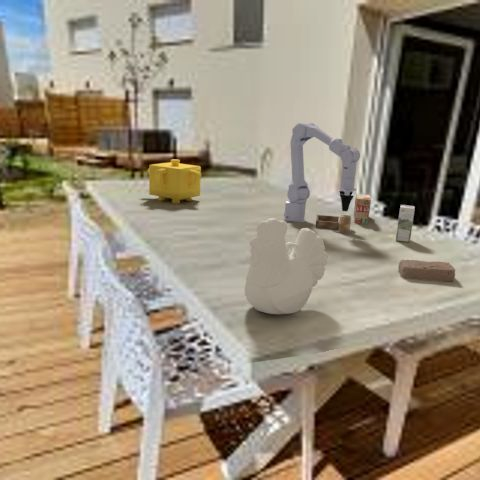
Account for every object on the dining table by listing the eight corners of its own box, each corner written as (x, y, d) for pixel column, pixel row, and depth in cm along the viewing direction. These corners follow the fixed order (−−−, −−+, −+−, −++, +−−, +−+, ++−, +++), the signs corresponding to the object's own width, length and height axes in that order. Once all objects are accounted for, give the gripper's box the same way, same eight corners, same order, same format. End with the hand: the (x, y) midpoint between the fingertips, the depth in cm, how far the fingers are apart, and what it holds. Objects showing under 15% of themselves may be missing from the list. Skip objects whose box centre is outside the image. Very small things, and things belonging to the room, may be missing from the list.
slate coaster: (331, 234, 215) (331, 232, 215) (331, 228, 225) (331, 227, 225) (356, 236, 214) (356, 235, 214) (354, 230, 223) (354, 229, 223)
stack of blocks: (353, 214, 256) (355, 190, 252) (366, 215, 255) (368, 191, 251) (354, 224, 235) (357, 198, 232) (368, 225, 234) (371, 199, 231)
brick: (401, 278, 165) (403, 265, 164) (397, 270, 173) (399, 257, 172) (454, 283, 163) (457, 269, 162) (447, 275, 171) (450, 261, 170)
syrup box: (410, 239, 213) (415, 205, 209) (409, 243, 207) (414, 208, 204) (396, 237, 215) (400, 204, 211) (395, 241, 209) (400, 206, 205)
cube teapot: (217, 200, 274) (219, 160, 268) (182, 208, 250) (183, 165, 244) (167, 191, 292) (167, 154, 286) (130, 198, 267) (129, 157, 262)
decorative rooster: (255, 326, 125) (261, 227, 118) (233, 301, 139) (237, 212, 132) (343, 315, 134) (354, 223, 127) (314, 293, 148) (322, 209, 141)
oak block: (338, 231, 217) (340, 217, 215) (338, 229, 222) (339, 214, 220) (349, 232, 217) (351, 217, 215) (349, 230, 221) (350, 215, 219)
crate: (315, 228, 224) (316, 220, 223) (316, 222, 236) (316, 214, 235) (338, 230, 222) (339, 222, 221) (338, 223, 234) (338, 216, 233)
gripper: (358, 180, 207) (354, 213, 211) (356, 175, 221) (353, 206, 224) (341, 179, 208) (337, 212, 212) (340, 174, 222) (337, 205, 225)
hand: (344, 209), depth 218 cm, fingers open, 7 cm apart
